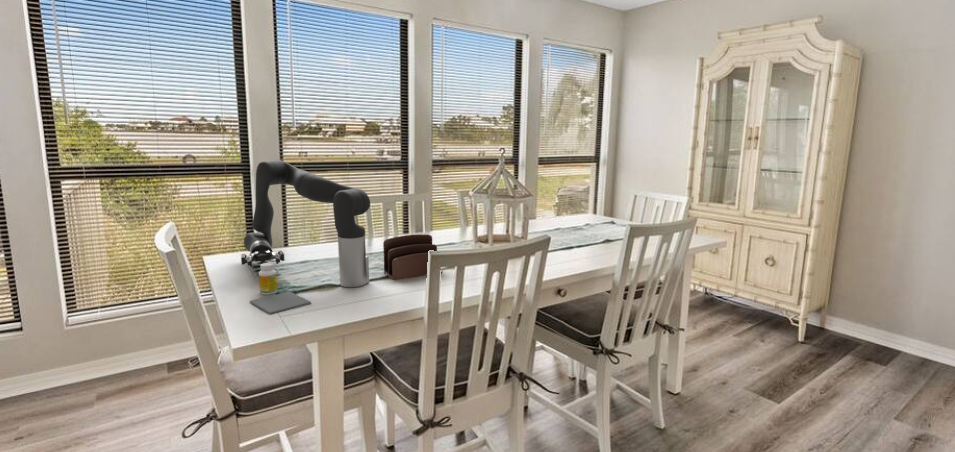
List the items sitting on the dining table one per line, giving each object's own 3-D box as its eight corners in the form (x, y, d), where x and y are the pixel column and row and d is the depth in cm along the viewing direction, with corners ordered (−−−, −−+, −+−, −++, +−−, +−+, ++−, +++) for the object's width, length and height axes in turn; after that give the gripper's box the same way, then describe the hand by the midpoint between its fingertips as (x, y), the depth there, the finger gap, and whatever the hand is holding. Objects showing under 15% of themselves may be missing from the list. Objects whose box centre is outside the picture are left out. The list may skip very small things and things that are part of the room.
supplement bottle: (271, 295, 163) (269, 266, 162) (256, 294, 164) (254, 265, 163) (281, 290, 169) (279, 262, 167) (266, 289, 170) (264, 261, 168)
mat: (289, 293, 166) (289, 291, 166) (310, 303, 157) (310, 301, 156) (249, 302, 157) (249, 300, 157) (270, 314, 147) (269, 312, 147)
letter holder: (383, 273, 190) (382, 237, 187) (431, 267, 199) (431, 232, 196) (392, 280, 181) (391, 242, 178) (442, 273, 191) (442, 237, 188)
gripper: (239, 243, 185) (241, 254, 171) (280, 240, 192) (285, 250, 177) (241, 263, 187) (242, 275, 173) (281, 259, 193) (286, 270, 179)
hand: (264, 262), depth 175 cm, fingers open, 8 cm apart
